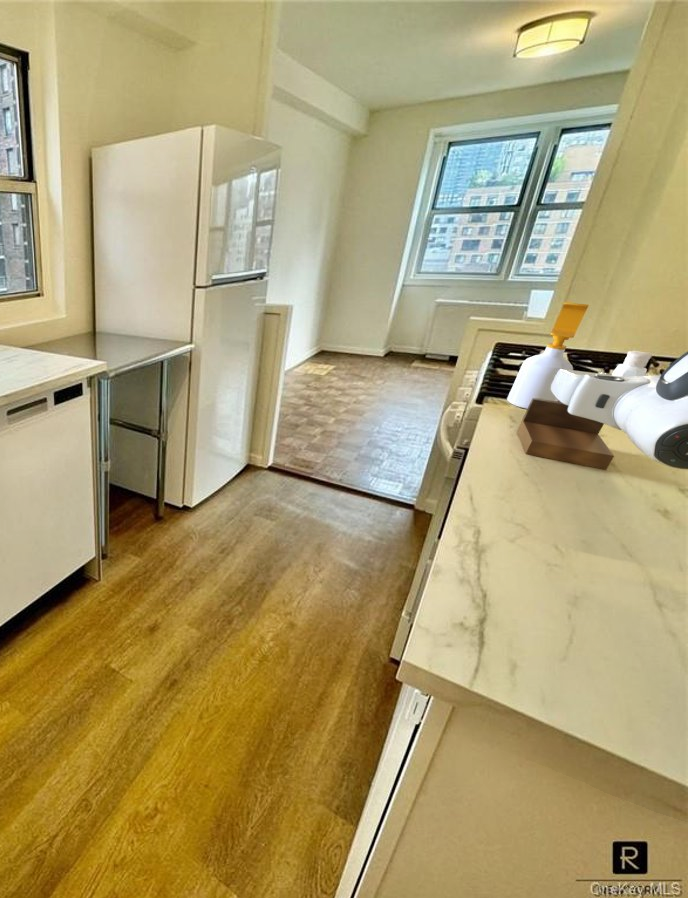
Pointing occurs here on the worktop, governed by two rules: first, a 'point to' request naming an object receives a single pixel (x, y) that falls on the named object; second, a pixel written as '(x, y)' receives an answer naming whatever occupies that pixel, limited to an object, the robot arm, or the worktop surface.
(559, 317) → the soap bottle
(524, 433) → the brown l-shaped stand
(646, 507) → the worktop surface
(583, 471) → the worktop surface
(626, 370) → the pepper shaker
